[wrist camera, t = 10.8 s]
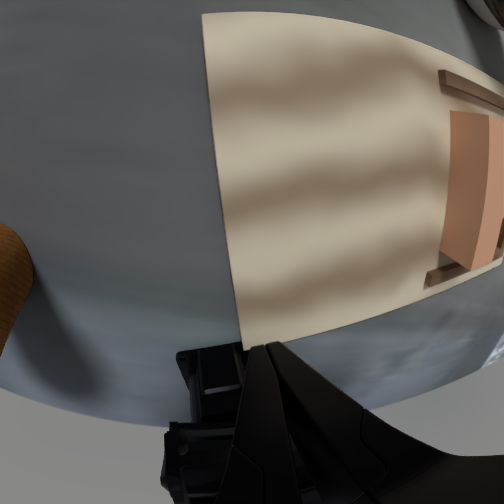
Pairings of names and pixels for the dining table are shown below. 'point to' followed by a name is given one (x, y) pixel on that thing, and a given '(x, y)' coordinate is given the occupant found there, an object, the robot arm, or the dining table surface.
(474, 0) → the grey egg-shaped pod
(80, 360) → the dining table surface
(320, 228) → the board
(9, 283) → the disposable coffee cup
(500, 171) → the t block
